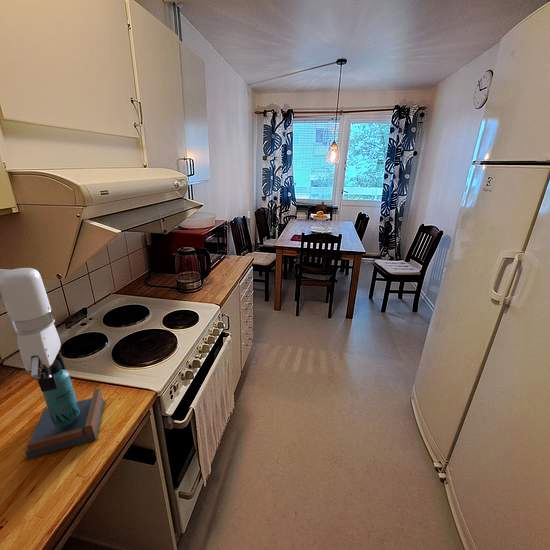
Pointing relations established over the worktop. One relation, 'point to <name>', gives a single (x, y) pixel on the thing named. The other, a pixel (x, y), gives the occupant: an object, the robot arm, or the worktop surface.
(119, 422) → the worktop surface
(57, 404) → the beverage bottle
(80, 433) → the blue square tray
